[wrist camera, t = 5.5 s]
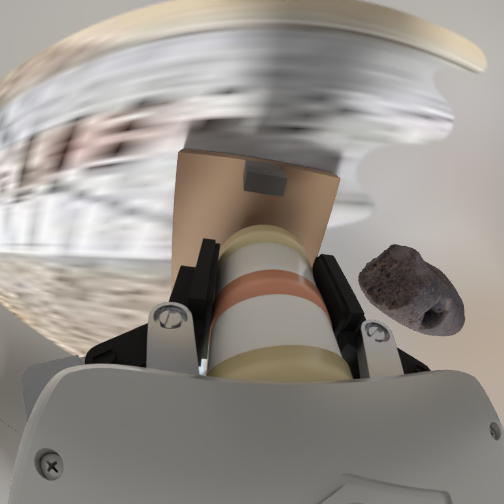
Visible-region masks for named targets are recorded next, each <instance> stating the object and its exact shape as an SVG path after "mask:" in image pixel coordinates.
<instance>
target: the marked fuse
mask: <svg viewBox="0 0 504 504" xmlns="http://www.w3.org/2000/svg"><path fill="white" fill-rule="evenodd" d="M206 376H212V377H222V378H234V379H249V380H271V381H328V380H349V379H353V377H352V374H351V371H350V368H349V365H348V364H347V362H346V361H345V360H344V359H343V358H342V356H341V353H340V350H339V347H338V344H337V341H336V338H335V335H334V333H333V330H332V323H331V320H330V317H329V314H328V311H327V309H326V306H325V303H324V301H323V298H322V295H321V293H320V292H319V290H318V288H317V286H316V284H315V281H314V278H313V270H312V267H311V264H310V262H309V259H308V257H307V254H306V252H305V250H304V247H303V245H302V244H301V242H300V241H299V240H298V238H297V237H295V236H294V235H293V234H292V233H290V232H289V231H287V230H285V229H283V228H280V227H278V226H273V225H254V226H250V227H246V228H244V229H241V230H239V231H238V232H236V233H234V234H233V235H232V236H230V237H229V238H228V239H227V240H226V241H225V243H224V244H223V245H222V247H221V249H220V251H219V259H218V267H217V275H216V283H215V296H214V303H213V308H212V316H211V326H210V335H209V352H208V362H207V373H206Z"/></svg>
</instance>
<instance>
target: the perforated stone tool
mask: <svg viewBox="0 0 504 504" xmlns="http://www.w3.org/2000/svg"><path fill="white" fill-rule="evenodd" d="M358 281H359V284H360V287H361V290H362V291H363V293H364V294H365V296H366V298H367V299H368V300H369V301H370V303H371V304H373V305H374V306H375V307H377V308H378V309H379V310H380V311H382V312H383V313H385V314H386V315H388V316H389V317H390V318H392V319H394V320H396V321H397V322H399V323H400V324H402V325H404V326H406V327H408V328H410V329H413V330H415V331H418V332H420V333H424V334H427V335H433V336H434V335H436V336H450V335H454V334H456V333H458V332H459V331H460V330H461V328H462V327H463V325H464V322H465V316H464V305H463V302H462V300H461V298H460V296H459V295H458V292H457V291H456V289H455V288H454V286H453V284H452V283H451V282H450V281H449V279H448V278H447V277H446V276H445V275H444V274H443V273H442V272H441V271H440V270H439V269H437V268H436V267H434V266H432V265H430V264H429V263H427V262H425V261H424V260H423V259H422V257H421V256H420V254H419V252H417V251H416V250H415V249H413V248H410V247H407V246H400V245H395V244H394V245H391V246H390V247H389V248H388V249H387V250H385V251H384V252H383V253H382V254H381V255H379V256H378V257H377V258H375V259H373V260H372V261H371V262H369V263H367V264H366V266H365V268H364V269H363V270H362V272H360V274H359V280H358Z"/></svg>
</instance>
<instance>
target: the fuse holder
mask: <svg viewBox="0 0 504 504" xmlns="http://www.w3.org/2000/svg"><path fill="white" fill-rule="evenodd" d="M339 182H340V178H339V177H338V176H337V175H335V174H334V173H332V172H327V171H323V170H318V169H314V168H309V167H304V166H299V165H294V164H289V163H284V162H279V161H273V160H267V159H261V158H255V157H249V156H242V155H235V154H228V153H220V152H212V151H203V150H193V149H182V150H181V151H179V152H178V160H177V170H176V182H175V196H174V212H173V234H172V290H173V287H174V284H175V281H176V278H177V275H178V272H179V269H180V266H181V265H183V266H191V267H196V264H197V260H198V256H199V252H200V248H201V245H202V241H203V238H207V239H214V240H216V243H219V244H220V249H221V247H222V245H223V244H224V243H225V241H226V240H227V239H228V238H229V237H230V236H232V235H233V234H234V233H236V232H238V231H239V230H241V229H244V228H246V227H250V226H254V225H273V226H278V227H280V228H283V229H285V230H287V231H289V232H290V233H292V234H293V235H294V236H295V237H297V238H298V240H299V241H300V242H301V244H302V245H303V247H304V250H305V252H306V254H307V257H308V259H309V262H310V264H311V267H312V266H313V263H314V260H315V258H316V257H317V256H318V252H319V250H320V247H321V243H322V240H323V237H324V234H325V230H326V227H327V224H328V221H329V217H330V214H331V211H332V207H333V204H334V200H335V197H336V193H337V190H338V186H339ZM214 296H215V292H214Z"/></svg>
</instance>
